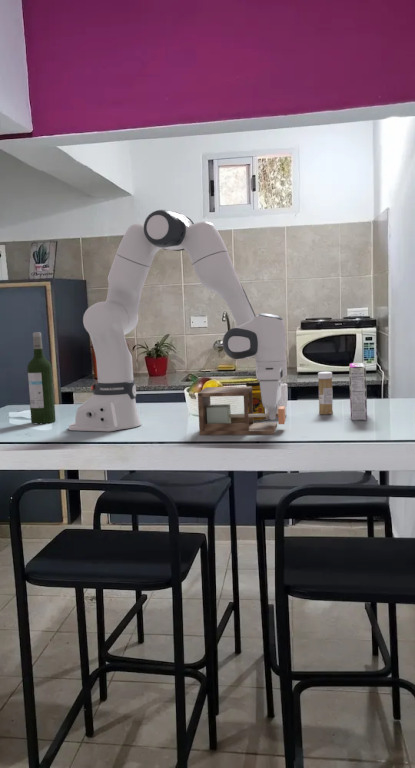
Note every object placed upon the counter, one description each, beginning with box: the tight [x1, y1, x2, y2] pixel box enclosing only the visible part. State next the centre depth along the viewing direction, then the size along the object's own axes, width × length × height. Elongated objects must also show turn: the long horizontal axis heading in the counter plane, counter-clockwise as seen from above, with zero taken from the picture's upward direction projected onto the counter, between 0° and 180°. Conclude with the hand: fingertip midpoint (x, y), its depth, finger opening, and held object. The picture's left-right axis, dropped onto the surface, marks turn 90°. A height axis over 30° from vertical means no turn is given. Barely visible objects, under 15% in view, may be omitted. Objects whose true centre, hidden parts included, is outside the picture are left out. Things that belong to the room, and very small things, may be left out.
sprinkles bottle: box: [317, 371, 334, 415], centre depth 224 cm, size 5×5×14 cm
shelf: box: [197, 386, 278, 436], centre depth 202 cm, size 21×13×12 cm, turn 80°
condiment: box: [245, 380, 270, 422], centre depth 220 cm, size 7×8×12 cm
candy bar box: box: [348, 362, 368, 421], centre depth 214 cm, size 11×5×16 cm, turn 168°
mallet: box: [207, 403, 286, 425], centre depth 202 cm, size 22×6×6 cm, turn 80°
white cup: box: [265, 382, 288, 416], centre depth 226 cm, size 8×8×10 cm
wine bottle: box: [26, 331, 56, 425], centre depth 232 cm, size 8×8×30 cm
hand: (273, 418), depth 201 cm, fingers closed on mallet
